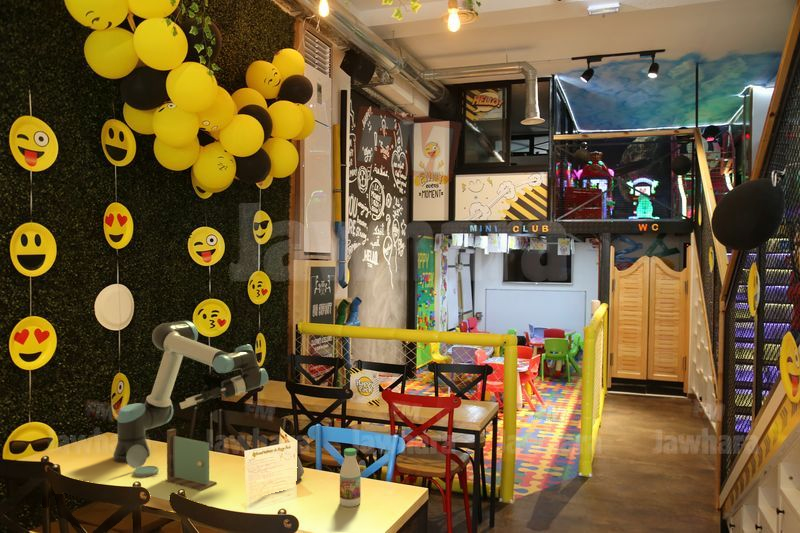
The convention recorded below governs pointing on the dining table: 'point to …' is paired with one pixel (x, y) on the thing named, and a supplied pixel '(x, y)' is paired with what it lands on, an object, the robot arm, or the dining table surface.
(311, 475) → the dining table surface
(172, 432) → the door frame
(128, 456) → the pocket watch
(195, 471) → the door
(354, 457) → the milk bottle
